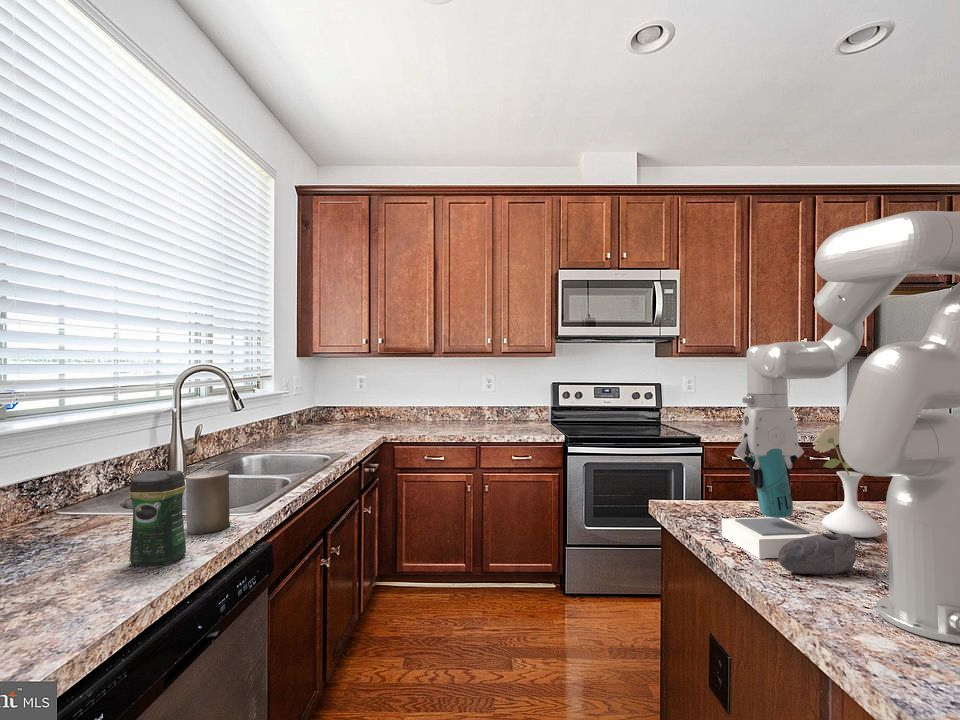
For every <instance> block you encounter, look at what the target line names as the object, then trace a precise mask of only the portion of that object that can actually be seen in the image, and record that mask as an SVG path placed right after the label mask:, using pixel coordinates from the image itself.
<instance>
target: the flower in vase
mask: <svg viewBox="0 0 960 720" xmlns="http://www.w3.org/2000/svg"><path fill="white" fill-rule="evenodd" d="M839 432H840V426H839V425H838V424H834V425H833V426H831V425H829V424H828V425H827V427H825V428H824V429H823V431H821V432H819V433H817V437H816V438H815V439H814V440H813V442H812V445H813V450H814V451H816V452H819V453H826V452H829V451H831V449H835V451H836V454H837V456H838V459H837V458H831V459H830V460H827V461H826V462H825V463H824V464H823V465H822V467H824V468H827V469H834V468H836V467H837V466H839V464H840V463H841V465H842V466H843V468H844V470H840V471H836V475H838V477H839V478H840V480H841V482H842V487H843V491H844V492H843V493H844V501H843V504H842V505H841V507H838V509H835V510H834V511H832V512H830V513H829V514H827V515H826V516H824V517H823V518H822V521H821V524H822V526H823V527H824V528H825V529H827V530H828V531H831V532H833V533H834V534H850V535H851V536H852V537H854V538H863V539H864V538H865V539H866V538H875V537H879V536H881V535H882V534H883V533H884V529H883V527H882V525H881V524H880V523H879V522H878V521H876V519H874V518H873V517H871V516H870V515H869V514H867V513H866V512H865V511H864V510H862V508H860V506H859V503H858V498H857V497H858V496H857V495H858V493H857V491H858V486H859V482H860V481H861V479H862V477H864V475H865V474H862V473H860V472H857V471H849V470H848V469H852V468H851V467H850V466H849V465H848V464H847V463H846V462H845V461H844V462H843V460H842V456H841V453H840V451H839V449H838V448H837V446H839Z"/></svg>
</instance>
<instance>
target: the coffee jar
mask: <svg viewBox="0 0 960 720" xmlns="http://www.w3.org/2000/svg"><path fill="white" fill-rule="evenodd" d="M129 487H130V488H129V497H130V500H131V503H132V526H131V529H132V530H131V537H130V538H131V540H130V550H129V562H130V564H131V565H134V566H155V565H156V566H157V565H164V564H168V563H171V562H175V561H177V560H179V559H181V558H182V557H183V556H184V555H185V554H186V552H187V543H186V534H185V526H184V525H185V524H184V516H183V498H184V493H185V491H186V479H185V475H184V472H183V471H182V470H149V471H143V472H141V473H140V472H139V473H136V474H134V475H133V476H132V478H131V481H130V484H129Z"/></svg>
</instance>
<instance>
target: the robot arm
mask: <svg viewBox="0 0 960 720" xmlns="http://www.w3.org/2000/svg"><path fill="white" fill-rule="evenodd" d="M814 268H815V271H816V273H817V274H818V276H819V277H820V278H822V279H823V280H825V281H827V282H826V283H825V284H824V285H823V287H822V288H821V289H820V290H819V291H818V292H817V294H816V295H815V297H814V300H813V306H814V308H815V310H816V312H817V313H818V315H820V316H821V318H823V320H825V321H826V322H828V323H829V324H831V325H832V326H831V328H830V329H829V330H828V332H827V333H825V335H824V336H823V337H821V339H819V340H818V341H781V342H780V341H779V342H778V341H777V342H774V343H770V344H757V345H751V346H750V347H748V349H747V350H746V380H747V381H746V385H747V394H746V396H743V397H742V400H741V401H742V403H743V404H746V405H747V408H746V407H745V409H744V411H743V412H744V414H743V417H742V426H741V428H742V429H741V442H740V443H739V444H738V445H737V447H736V448H735V450H734V451H733V454H734V455H735V456H736V457H738V458H739V459H740V460H741V461H742V462H743V463H744V464H745V465H746V467H747V468H748V469H749V482H750V485H751V487H753V488H754V487H755V488H762V487H763V481H762V470H760V469H759V467H760V463H759V459H758V456H766V453H767V452H768V451H770V450H772V449H781V450H782V455H783V456H784V458H785V463H786V467H787V475H788V481H789V483H790V481H791V478H790V477H791V475H790V474H791V473H790V472H791V471H790V470H791V469H792V468H793V465H794V464H795V463H796V462H797V460H798V459H799V458H800V457H802V455H803V454H804V453H805V451H804V449H803V448H802V447H801V446H800V443H799V437H798V436H799V435H798V428H797V421H796V417H795V414H794V411H793V409H792V408H789V401H788V398H789V396H788V380H798V379H799V380H801V379H803V380H804V379H805V380H806V379H809V380H811V379H813V380H815V379H817V380H818V379H819V380H820V379H825V378H829V377H831V376H834V375H835V374H836V373H838V372H839V371H840V370H841V369H843V368H844V367H845V366H846V365H847V364H848V363H849V362H850V361H851V360H852V359H853V358H854V357H855V356H856V354H858V352H859V350H860V348H861V346H862V343H863V339H864V335H865V333H864V332H865V328H864V321H865V320H866V319H867V317H869V316H870V315H871V314H872V313H873V312H874V310H875V309H876V308H877V307H879V305H880V304H881V303H882V302H883V301H884V300H885V299H886V298H887V297H888V296H889V295H890V294H892V292H893V291H894V289H896V287H897V286H898V285H900V283H902V281H903V280H904V279H905V278H906V277H907V276H908V275H956V276H959V277H960V211H946V210H945V211H944V210H943V211H941V210H917V211H916V210H913V211H905V212H900V213H896V214H892V215H890V216H885V217H881V218H879V219H875V220H872V221H868V222H864V223H860V224H856V225H852V226H849V227H845V228H842V229H840V230H837V231H836V232H833V233H832V234H830V235H829V236H828V237H827V238H825V240H824V241H823V242H822V243H821V244H820V245H819V248H818V249H817V252H816V254H815V258H814ZM932 315H933V316H932V319H931V322H930V324H929V326H928V328H927V331H926V333H925V335H924V336H923V337H922V339H921V340H920V341H899V342H892V343H889V344H885V345H883V346H881V347H879V348H877V349H876V350H874V351H873V352H872V353H871V354H870V355H868V357H867V358H866V359H865V360H864V361H863V363H862V365H860V366H861V367H860V368H859V370H858V373H857V376H856V378H855V381H854V384H853V387H852V391H851V394H850V396H849V399H848V403H847V406H846V409H845V411H844V414H843V417H842V421H841V424H840V426H839V429H840V432H839V444H838V446H839V453H840V456H841V458H843V460H844V462H846V463H847V464H848V465H849V466H850V467H851V468H850V469H853V470H854V471H855V472H857V473H862V474H864V475H866V476H871V477H892V478H891V481H890V483H889V485H888V488H887V489H888V490H887V492H886V502H885V504H886V505H885V508H886V509H885V511H886V539H887V540H886V541H887V542H886V543H887V570H888V571H887V572H888V596H885V597H882V598H879V599H878V600H877V601H876V612H877V613H878V615H879V616H881V617H882V618H883V619H884V620H885V621H887V622H889V623H890V624H891V625H894V626H895V627H897V628H900V629H902V630H904V631H907V632H909V633H912V634H915V635H918V636H921V637H923V638H928V639H932V640H936V641H940V642H946V643H949V644H950V643H952V644H959V645H960V417H959V416H957V415H955V414H953V413H950V412H946V411H943V410H942V409H956V408H957V409H959V408H960V281H959V282H958V283H957V284H955V286H954V287H953V288H952V289H951V290H950V291H949V292H948V293H946V295H945V296H944V297H943V298H941V301H940V302H939V303H938V305H937V306H936V308H935V310H934V312H933V314H932ZM939 409H941V410H939ZM752 453H753V454H754V455H753V454H752ZM747 454H748V455H747ZM752 456H755V459H754V461H753V459H752Z"/></svg>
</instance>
